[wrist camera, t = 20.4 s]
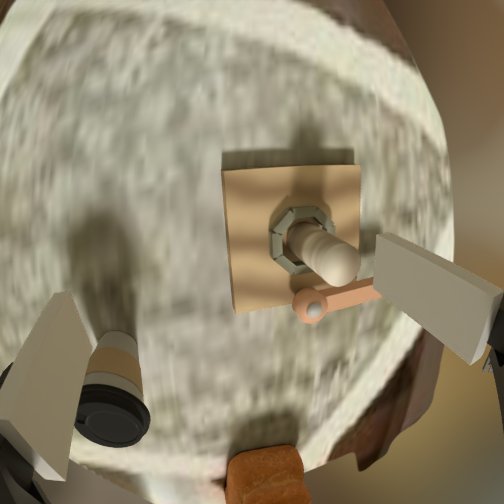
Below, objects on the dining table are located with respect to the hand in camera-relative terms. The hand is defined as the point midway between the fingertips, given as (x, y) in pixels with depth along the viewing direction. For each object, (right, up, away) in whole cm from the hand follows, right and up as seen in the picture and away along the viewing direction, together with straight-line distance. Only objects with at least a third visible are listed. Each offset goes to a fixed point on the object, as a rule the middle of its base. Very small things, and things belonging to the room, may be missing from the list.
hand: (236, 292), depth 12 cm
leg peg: (+7, +3, +26) cm, 27 cm away
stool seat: (+6, +4, +28) cm, 29 cm away
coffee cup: (-18, -12, +27) cm, 34 cm away
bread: (+2, -51, +45) cm, 68 cm away
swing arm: (+13, -4, +28) cm, 31 cm away
